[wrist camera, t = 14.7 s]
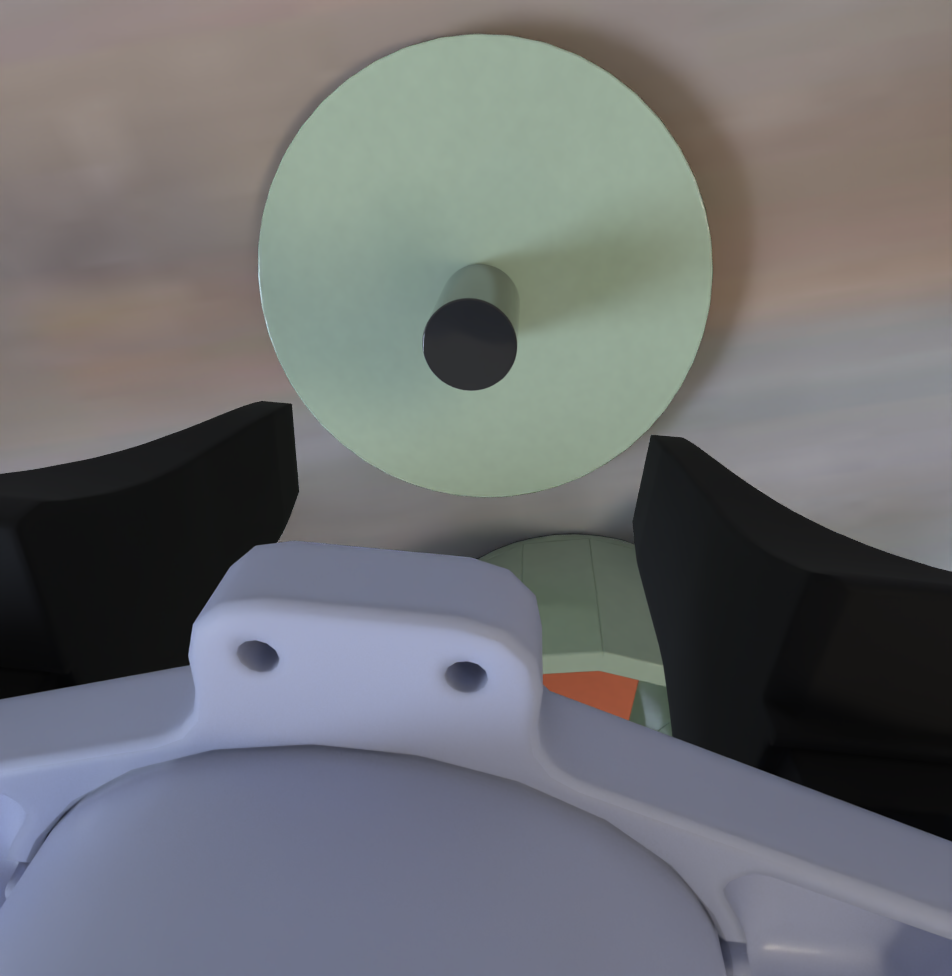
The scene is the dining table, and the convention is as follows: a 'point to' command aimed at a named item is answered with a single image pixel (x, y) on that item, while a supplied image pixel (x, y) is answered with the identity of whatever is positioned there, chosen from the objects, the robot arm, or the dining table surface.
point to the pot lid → (485, 265)
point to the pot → (593, 613)
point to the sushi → (595, 690)
